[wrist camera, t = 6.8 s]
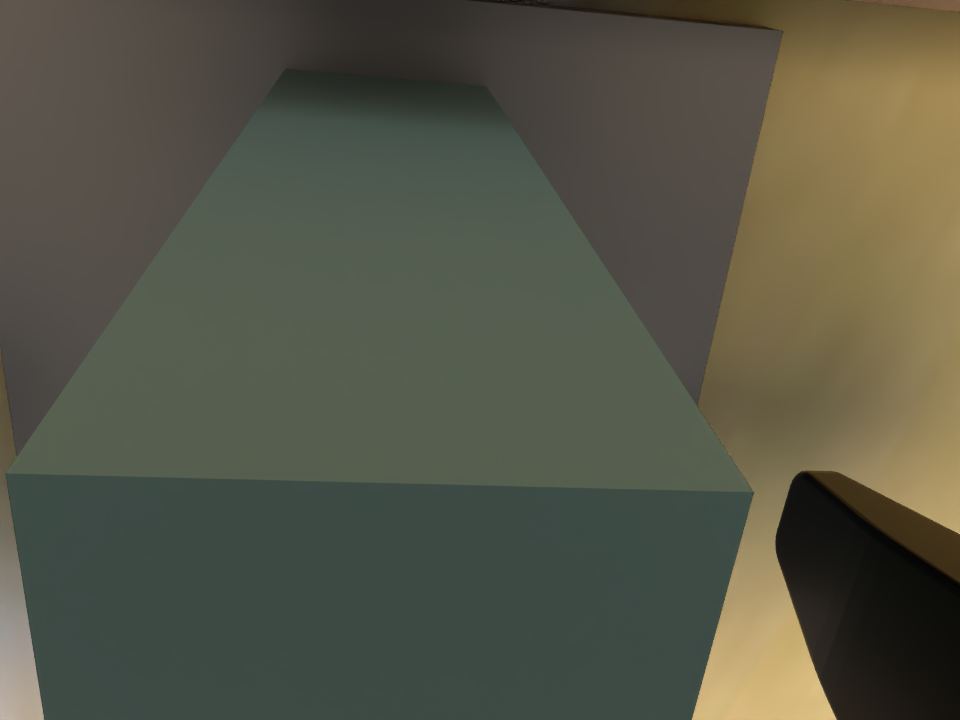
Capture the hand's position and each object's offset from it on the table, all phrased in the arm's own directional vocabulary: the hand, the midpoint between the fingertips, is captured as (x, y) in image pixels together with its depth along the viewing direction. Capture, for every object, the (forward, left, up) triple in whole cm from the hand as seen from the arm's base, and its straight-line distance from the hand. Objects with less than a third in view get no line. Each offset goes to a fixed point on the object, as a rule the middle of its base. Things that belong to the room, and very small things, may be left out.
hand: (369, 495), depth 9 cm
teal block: (0, 0, -4) cm, 4 cm away
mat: (0, 0, -5) cm, 5 cm away
